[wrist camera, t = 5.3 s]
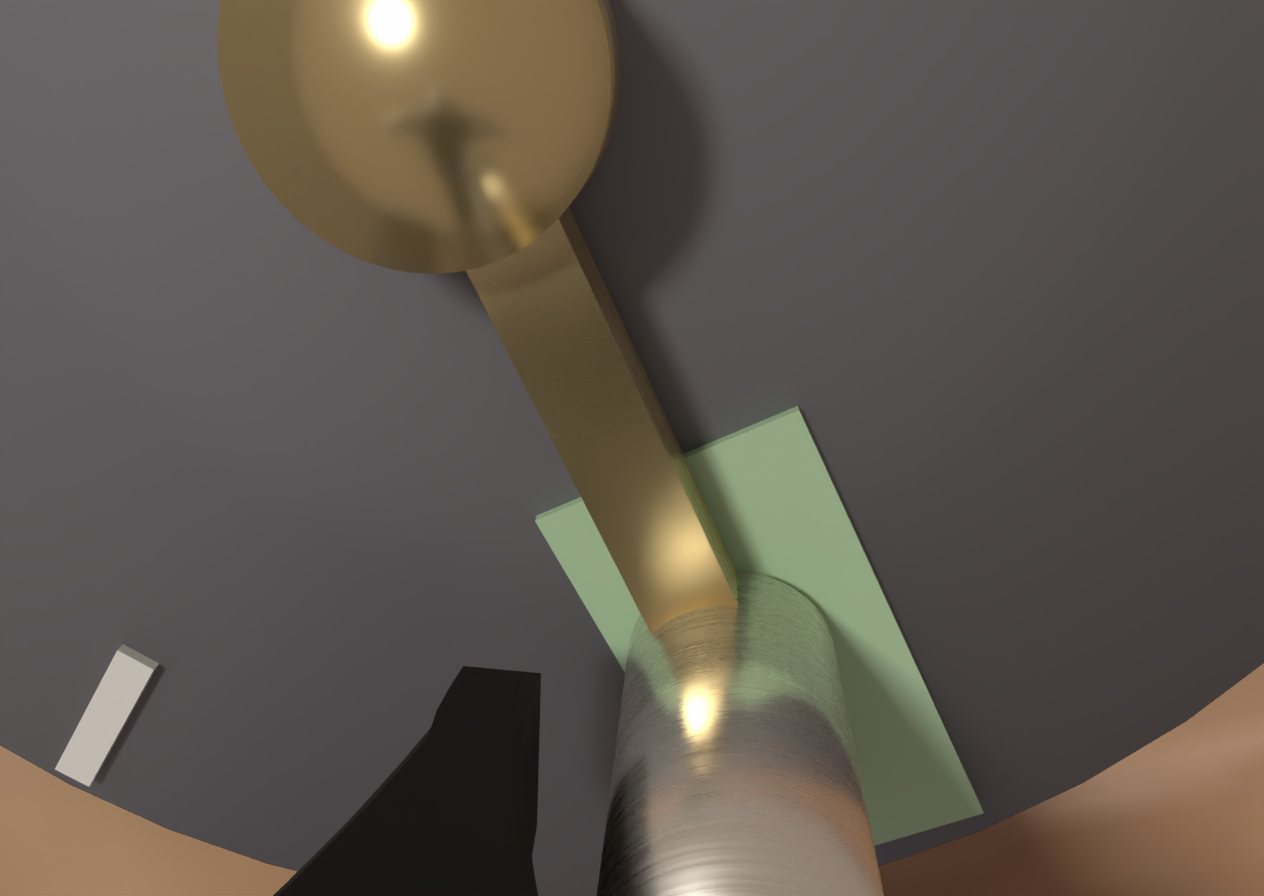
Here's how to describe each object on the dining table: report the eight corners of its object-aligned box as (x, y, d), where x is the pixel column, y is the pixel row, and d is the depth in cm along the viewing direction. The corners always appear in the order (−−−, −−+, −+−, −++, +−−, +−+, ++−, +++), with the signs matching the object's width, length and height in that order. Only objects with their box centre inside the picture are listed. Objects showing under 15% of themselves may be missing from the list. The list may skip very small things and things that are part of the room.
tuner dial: (2369, -1844, 6) (2974, -2524, 4) (1210, 897, 15) (1268, 997, 13) (-1123, -1799, 6) (-1666, -2340, 5) (-190, 753, 15) (-287, 831, 14)
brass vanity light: (211, -27, 9) (-298, -78, 4) (525, -204, 8) (303, -478, 4) (686, 844, 12) (674, 1289, 8) (929, 779, 12) (1059, 1228, 7)
